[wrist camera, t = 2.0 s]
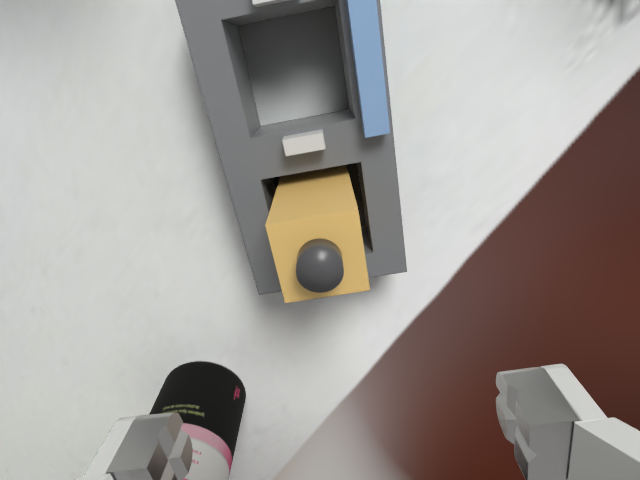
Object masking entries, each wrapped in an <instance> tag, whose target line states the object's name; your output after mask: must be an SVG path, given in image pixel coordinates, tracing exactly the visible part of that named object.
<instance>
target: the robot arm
mask: <svg viewBox="0 0 640 480" xmlns="http://www.w3.org/2000/svg"><path fill="white" fill-rule="evenodd" d="M496 385H497V387H498V389H499V391H500V394H499V395H498V396H497V398H496V409H497V414H498V419H499V422H500V425H501V428H502V430H503V432H504V435H505V437H506V439H507V440H509V441H510V442H512V443H513V444H514V445H515V454H514V455H515V458H516V460H517V462H518V464H519V467H520V469H521V471H522V473H523V475H524V477H525V479H526V480H640V431H638V430H637V429H635V428H633V427H631V426H629V425H627V424H625V423H624V422H622V421H620V420H618V419H616V418H607V417H606V416H605V414H604V413H603V412H602V410H601V409H600V408H599V407H598V405H597V404H596V403H595V402H594V400H593V399H592V398H591V397H590V395H589V394H588V393H587V391H586V390H585V389H584V388H583V386H582V385H581V384H580V383H579V381H578V380H577V379H576V378H575V376H574V375H573V374H572V373H571V371H570V370H569V369H568V368H567V366H565V365H563V364H556V365H548V366H541V367H534V368H526V369H519V370H511V371H503V372H498V373H497V376H496ZM182 424H183V421H182V419H181V417H180V415H179V413H175V412H172V413H162V414H151V415H141V416H135V417H124V418H120V419H119V420H118V421H116V422H115V423H114V425H113V427H112V429H111V430H110V432H109V434H108V435H107V437H106V439H105V441H104V442H103V444H102V446H101V447H100V449H99V451H98V452H97V454H96V456H95V458H94V459H93V461H92V463H91V464H90V466H89V468H88V470H87V471H86V473H85V475H84V476H81V477H77V478H76V479H75V480H183V479H184V477H185V476H186V475H187V474H188V473H189V470H190V467H191V463H192V454H193V448H192V442H191V439H190V437H189V434H187V433H186V432H184V431H183V430H181V426H182Z"/></svg>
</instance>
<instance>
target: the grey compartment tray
mask: <svg viewBox="0 0 640 480" xmlns="http://www.w3.org/2000/svg"><path fill="white" fill-rule="evenodd" d="M175 2H176V5H177V9H178V12H179V16H180V19H181V23H182V26H183V30H184V33H185V37H186V40H187V44H188V47H189V51H190V54H191V58H192V61H193V65H194V68H195V72H196V75H197V79H198V82H199V86H200V89H201V93H202V97H203V100H204V104H205V107H206V111H207V114H208V118H209V121H210V125H211V128H212V132H213V135H214V139H215V142H216V146H217V149H218V153H219V156H220V160H221V163H222V167H223V170H224V174H225V177H226V181H227V184H228V188H229V191H230V195H231V198H232V202H233V205H234V209H235V212H236V216H237V219H238V223H239V226H240V230H241V234H242V237H243V241H244V244H245V248H246V251H247V255H248V258H249V262H250V265H251V269H252V272H253V276H254V279H255V283H256V286H257V290H258V293H259V295H261V294H268V293H274V292H280V291H282V289H281V285H280V281H279V277H278V273H277V269H276V265H275V262H274V258H273V254H272V250H271V246H270V242H269V238H268V234H267V230H266V226H265V225H266V221H267V218H268V215H269V212H270V208H271V205H272V202H273V199H274V196H275V192H276V190H275V186H274V181H273V177H279V176H284V175H290V174H296V173H301V172H307V171H313V170H318V169H324V168H330V167H335V166H341V165H347V164H352V163H357V166H358V173H359V181H360V188H361V195H362V202H363V209H364V216H365V223H366V226H363V227H361V231H362V238H363V245H364V252H365V259H366V265H367V272H368V278H370V277H377V276H383V275H389V274H396V273H402V272H407V267H406V257H405V247H404V237H403V227H402V217H401V207H400V197H399V187H398V177H397V167H396V157H395V147H394V137H393V127H392V117H391V107H390V97H389V87H388V77H387V66H386V56H385V46H384V36H383V26H382V16H381V6H380V0H175ZM331 6H335V10H336V17H337V24H338V32H339V39H340V46H341V53H342V60H343V67H344V74H345V81H346V88H347V95H348V103H349V110H343V111H338V112H333V113H327V114H322V115H317V116H311V117H306V118H300V119H295V120H290V121H284V122H279V123H274V124H268V125H263V126H260V122H259V117H258V113H257V109H256V105H255V100H254V96H253V92H252V87H251V83H250V79H249V75H248V70H247V66H246V62H245V58H244V53H243V49H242V45H241V40H240V36H239V32H238V28H237V26H238V25H243V24H248V23H253V22H258V21H262V20H267V19H272V18H277V17H282V16H287V15H292V14H297V13H302V12H307V11H311V10H316V9H321V8H326V7H331Z"/></svg>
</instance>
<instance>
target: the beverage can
mask: <svg viewBox="0 0 640 480" xmlns="http://www.w3.org/2000/svg"><path fill="white" fill-rule="evenodd" d="M245 398H246V393H245V388H244V385H243V383H242V382H241V380H240V379H239V377H238V376H237V375H236V374H235V373H233V372H232V371H231V370H229V369H228V368H226V367H224V366H222V365H219V364H217V363H213V362H206V361H196V362H189V363H186V364H183V365H180V366H178V367H177V368H175V369H174V370H173V371H172V372H171V373H170V374H169V375H168V376H167V378H166V380H165V382H164V384H163V386H162V388H161V391H160V393H159V395H158V397H157V399H156V401H155V403H154V406H153V408H152V410H151V412H150V414H149V415H151V414H162V413H172V412H175V413H179V415H180V417H181V419H182V421H183V424H182V426H181V430H183V431H184V432H186V433H187V434H189V437H190V439H191V442H192V448H193V454H192V463H191V467H190V470H189V473H188V474H187V475H186V476H185V477H184V479H183V480H228V479H229V475H230V470H231V465H232V460H233V456H234V451H235V446H236V441H237V436H238V432H239V427H240V422H241V417H242V413H243V408H244V403H245Z"/></svg>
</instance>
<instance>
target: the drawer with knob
mask: <svg viewBox="0 0 640 480" xmlns="http://www.w3.org/2000/svg"><path fill="white" fill-rule="evenodd" d="M265 226H266V230H267V234H268V238H269V242H270V246H271V250H272V254H273V258H274V262H275V265H276V269H277V273H278V277H279V281H280V285H281V289H282V293H283V297H284V301H285V303H289V302H296V301H302V300H309V299H315V298H322V297H328V296H335V295H341V294H348V293H354V292H361V291H367V290H370V286H369V279H368V272H367V265H366V259H365V252H364V245H363V238H362V231H361V224H360V218H359V211H358V207H357V203H356V199H355V195H354V191H353V188H352V184H351V180H350V176H349V172H348V169H347V165H341V166H335V167H330V168H324V169H318V170H313V171H307V172H301V173H296V174H290V175H284V176H280V179H279V183H278V186H277V189H276V192H275V196H274V199H273V202H272V205H271V208H270V212H269V215H268V218H267V221H266V225H265Z"/></svg>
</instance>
